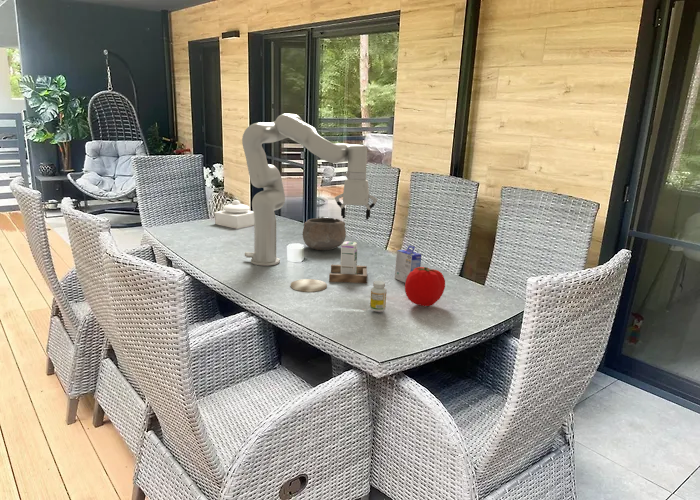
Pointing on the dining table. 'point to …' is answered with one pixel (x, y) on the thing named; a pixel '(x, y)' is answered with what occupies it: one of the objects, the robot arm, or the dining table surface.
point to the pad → (308, 285)
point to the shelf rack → (348, 275)
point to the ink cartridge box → (406, 263)
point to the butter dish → (235, 216)
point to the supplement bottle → (378, 296)
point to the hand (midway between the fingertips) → (355, 218)
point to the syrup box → (349, 257)
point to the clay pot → (324, 233)
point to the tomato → (424, 286)
